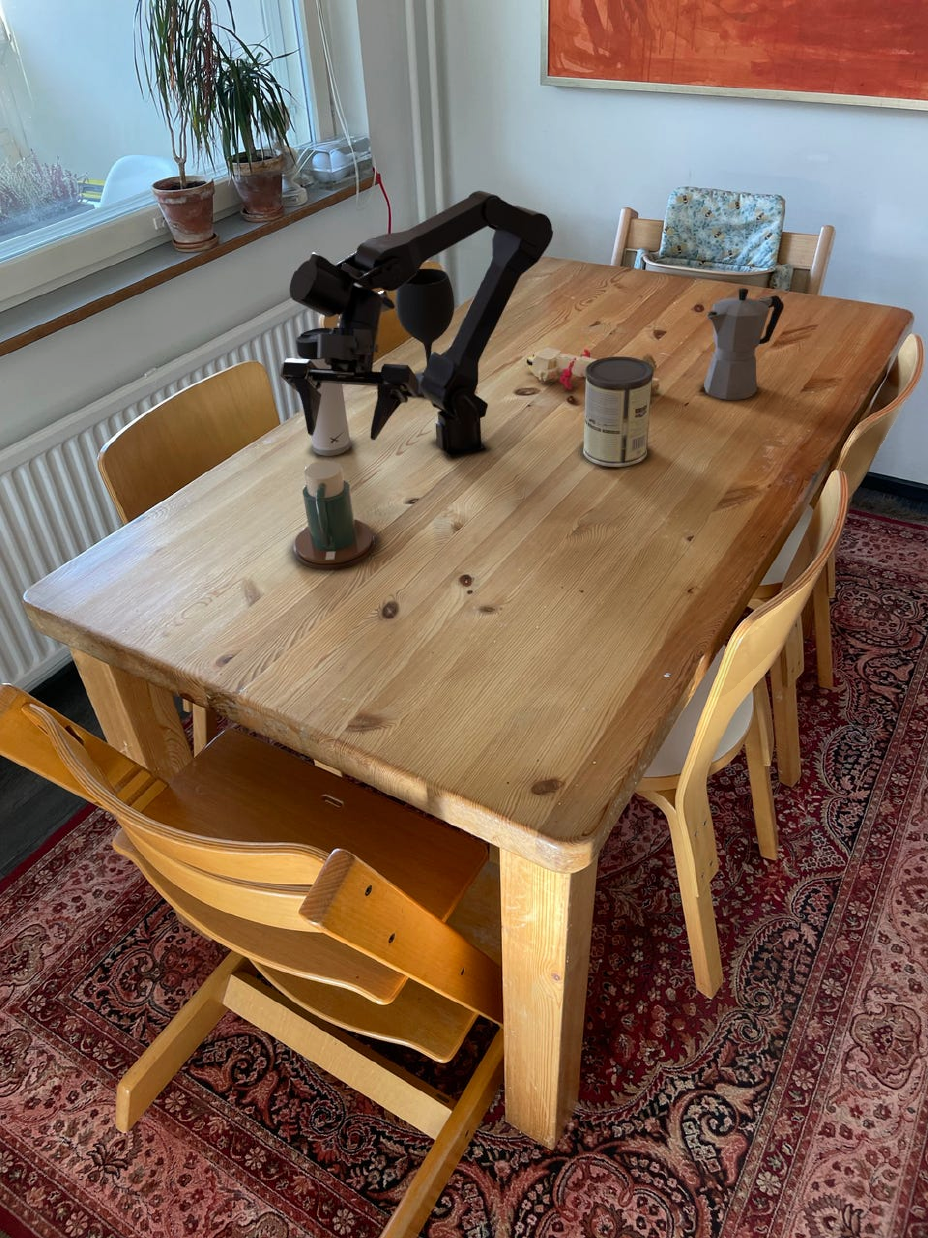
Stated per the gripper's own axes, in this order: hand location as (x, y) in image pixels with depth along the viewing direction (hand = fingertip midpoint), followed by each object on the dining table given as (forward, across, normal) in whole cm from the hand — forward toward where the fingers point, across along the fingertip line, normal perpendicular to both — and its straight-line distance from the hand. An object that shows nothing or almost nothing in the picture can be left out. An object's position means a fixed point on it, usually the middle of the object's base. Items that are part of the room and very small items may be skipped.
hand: (341, 436), depth 131 cm
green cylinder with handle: (+15, 0, +4) cm, 15 cm away
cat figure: (-26, +28, +46) cm, 60 cm away
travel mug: (-5, -11, +24) cm, 27 cm away
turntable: (+15, 0, +4) cm, 15 cm away
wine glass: (-24, -1, +43) cm, 49 cm away
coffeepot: (-28, +54, +48) cm, 77 cm away
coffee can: (-9, +36, +28) cm, 46 cm away
